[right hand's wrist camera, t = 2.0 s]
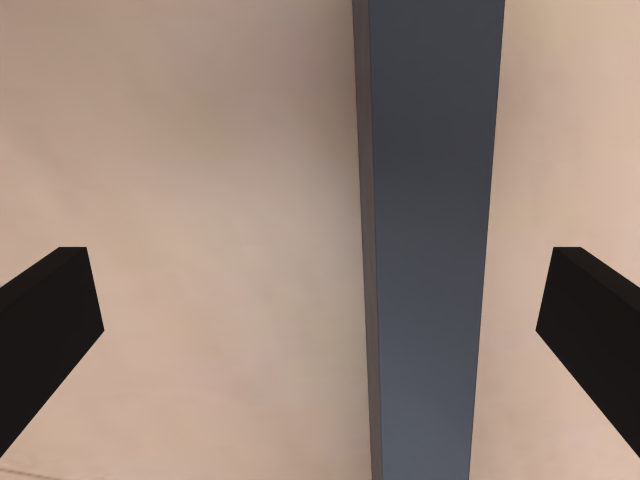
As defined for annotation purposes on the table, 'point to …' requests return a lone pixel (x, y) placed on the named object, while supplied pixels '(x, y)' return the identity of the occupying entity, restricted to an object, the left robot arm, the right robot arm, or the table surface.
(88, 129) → the table surface
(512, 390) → the table surface
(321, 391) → the table surface
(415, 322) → the beam
